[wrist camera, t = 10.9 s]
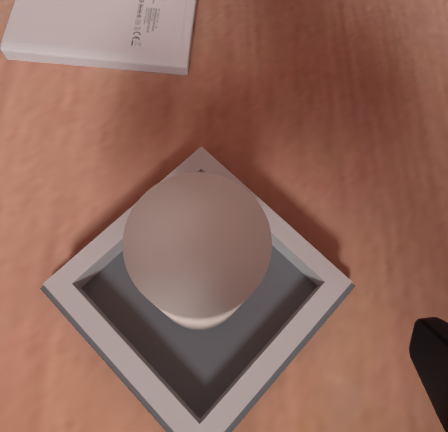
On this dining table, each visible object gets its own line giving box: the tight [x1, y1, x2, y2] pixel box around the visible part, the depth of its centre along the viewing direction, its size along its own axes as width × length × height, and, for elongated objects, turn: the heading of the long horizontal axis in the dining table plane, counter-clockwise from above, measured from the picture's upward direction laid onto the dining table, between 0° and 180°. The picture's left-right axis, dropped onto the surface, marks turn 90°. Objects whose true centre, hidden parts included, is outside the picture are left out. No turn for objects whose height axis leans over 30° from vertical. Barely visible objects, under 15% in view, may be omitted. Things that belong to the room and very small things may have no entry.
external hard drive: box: [0, 0, 197, 75], centre depth 28 cm, size 2×8×12 cm
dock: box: [40, 146, 355, 432], centre depth 21 cm, size 12×12×2 cm
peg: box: [122, 172, 272, 330], centre depth 16 cm, size 4×4×10 cm
